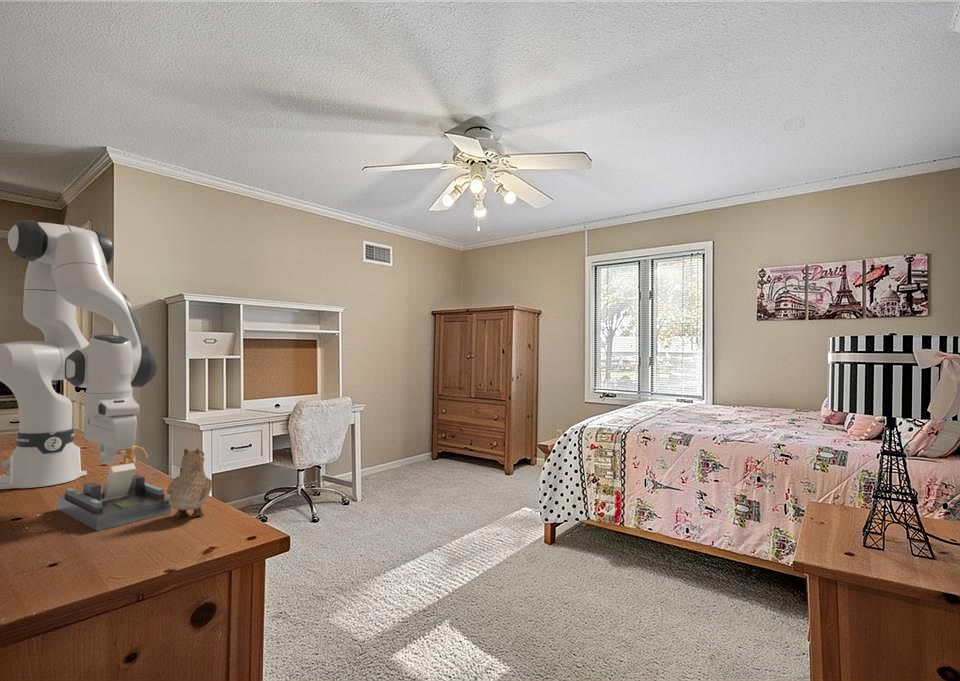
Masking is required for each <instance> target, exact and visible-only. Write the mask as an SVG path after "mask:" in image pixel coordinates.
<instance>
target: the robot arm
mask: <svg viewBox="0 0 960 681" xmlns="http://www.w3.org/2000/svg"><path fill="white" fill-rule="evenodd" d="M7 243H8V246H9V249H10V250H9V251H10V252H11V253H12V254H13V255H14V256H15V258H18V259H20V260H24V261H26V262H28V265H27V268H26V272H25V277H24V282H23V284H24V285H23V286H24V287H23V301H22V302H23V304H22V305H23V308H22V316H23V318H24V320H25V321H26V322H27V323H28V324H29V325H32V326H33V327H36V328H38V329H39V330H40V331H41V332H42V334H43V336H44V341H42V340H41V341H39V340H38V341H37V340H33V341H32V340H19V341H10V342H4V343H0V382H1V383H3V384H4V385H5V386H7V388H9V389H10V390H11V392H12V394H13V395H14V397H15V399H16V401H17V406H18V419H19V422H18V425H19V426H18V427H19V431H18V432H17V434H16V437H15V441H16V442H15V446H16V447H15V449H14V450H13V452H12V453H11V455H10V457H9V459H5V460H3V461H1V470H3V471H5V472H4V474H0V490H7V489H9V490H10V489H29V488H30V489H31V488H42V487H48V486H55V485H60V484H64V483H68V482H71V481H74V480H77V479H78V478H81V477H84V476H87V475H88V471H87V470H82V466H81V464H82V462H81V448H80V447H79V446H78V445H76V444H75V443H74V441H75V428H73V402H72V401H71V399H70V398H68V397H67V396H66V395H63V394H61V393H58V392H56V391H55V389H54V387H53V384H52V381H63V380H64V381H65V380H66V381H67V382H68V383H70V384H71V385H73V386H74V387H75V388H77V387H78V388H84V389H85V388H86V390H85V396H84V421H83V431H82V432H83V438H84V439H85V440H87V441H90V442H92V443H95V444H97V449H98V452H99V462H100V463H101V464H104V465H112V464H114V463H115V457H114V455H115V453H116V450H120V449H128V448H132V447H133V445H135V441H136V435H137V427H138V426H137V425H138V424H137V422H138V420H137V416H136V415H138V414H140V405H139V403H137V401H136V400H135V398H134V397H133V388H142V387H144V386H146V385H147V384H148V383H150V382H151V381H152V380H153V379H154V377H155V376H156V374H157V368H158V367H157V361H156V359H155V356H154V355H153V352H152V351H151V350H150V348H149V346H148V344H147V341H146V339H145V336H144V333H143V331H142V329H141V326H140V323H139V320H138V317H137V315H136V312H135V310H134V308H133V306H132V303H131V301H130V299H129V297H128V296H127V295H126V294H124V293H123V292H122V291H120V290H119V289H118V288H117V287H116V286H115V284H114V282H112V279H111V278H110V274H109V268H108V266H109V265H110V264H111V263H112V261H113V258H114V252H115V251H114V250H115V247H114V243H113V241H112V239H111V237H110V236H109V235H107V234H105V233H103V232H100V231H97V230H90V229H86V228H82V227H79V226H74V225H69V224H59V223H58V224H57V223H53V222H43V221H42V222H41V221H39V222H38V221H37V220H31V219H29V220H23V219H22V220H18V221H17V222H15V223H13V225H12V226H11V228H10V230H9V232H8V235H7ZM77 308H80V309H83V310H86V311H89V312H93V313H94V314H96V315H97V314H98V315H99V316H102V317H104V318H106V319H107V320H109V321H111V322H112V323H113V325H114V326H115V328H116V331H117V334H118V335H114V334H98V335H97V334H96V335H94V336H92V337H91V338H90V339H89V341H88V340H87V339H86V338H85V336H84V335H83V333H82V331H81V329H80V327H79V325H78V319H77ZM116 454H117V453H116ZM115 456H116V455H115Z"/></svg>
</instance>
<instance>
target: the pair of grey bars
mask: <svg viewBox="0 0 960 681" xmlns="http://www.w3.org/2000/svg"><path fill="white" fill-rule="evenodd" d="M164 489H165V488H162V487H158V486H155V485H153V484H150V483H148V482H145V488H144V494H147V495H149V496H152V497H155V498H157V499H164V497H165V493H164V492H165V491H164ZM81 492H82V491H79V490H76V489H74V488H72V487H71V488H66V489H65V493H64V495H65V498H67V499H69V500H71V501H73V502H75V503H77V504H79V505H81V506H83V507H85V508H87V509H89V510H91V511H93V512H95V513H102V512H103V507H102V502H100V501H98V500H96V499H94V498H92V497H90V496H87V495H85V494H83V493H81Z"/></svg>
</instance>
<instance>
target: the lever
mask: <svg viewBox="0 0 960 681" xmlns="http://www.w3.org/2000/svg"><path fill="white" fill-rule="evenodd" d="M135 465H136V464H135ZM135 465H134V463H132V462H131V463H127V464H125V465H124V464H120V465H119V464H118V465H114V466H110V468H109V471H108V474H107V477H106V480H105V483H104V486H103V487H102V488H103V491H102V493H101V499H106V498H111V497H116V496H120V495H125V494H128V490H129V487H130V484H131V482H132V479H133V476H134V473H135V474H136V470H137V467H136V466H135Z"/></svg>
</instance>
